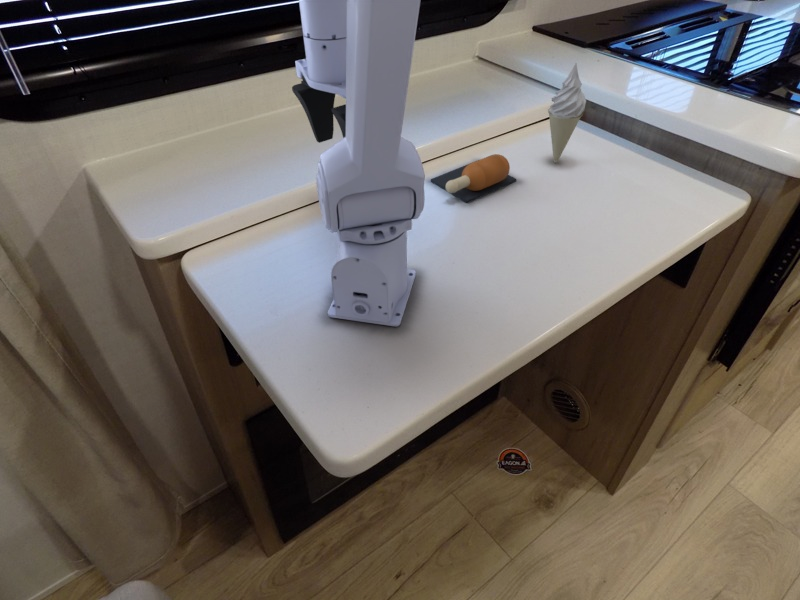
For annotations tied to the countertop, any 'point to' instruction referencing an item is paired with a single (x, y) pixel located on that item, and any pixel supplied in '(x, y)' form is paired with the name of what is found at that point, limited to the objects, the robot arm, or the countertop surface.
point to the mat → (466, 193)
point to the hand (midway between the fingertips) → (340, 150)
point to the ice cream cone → (566, 112)
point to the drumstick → (481, 174)
